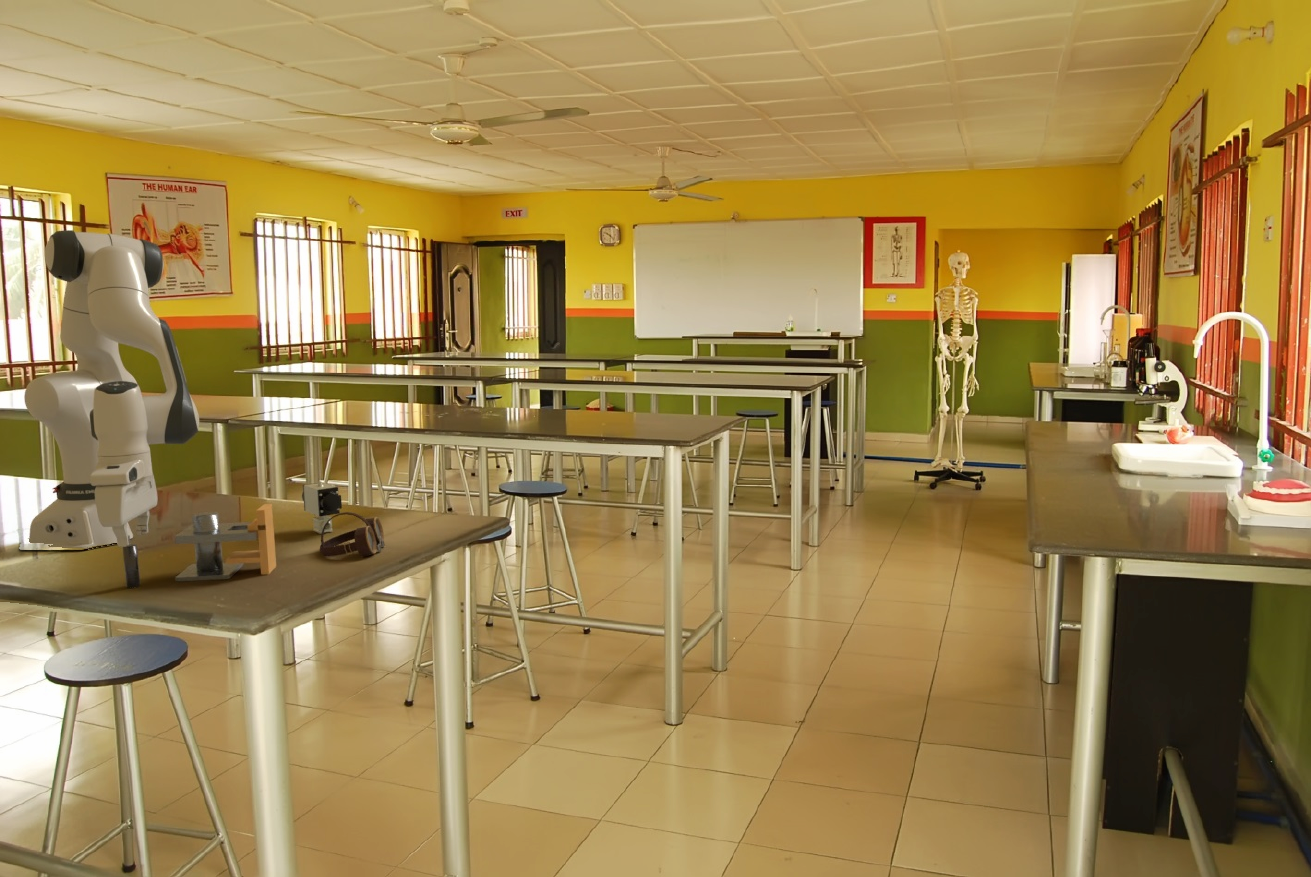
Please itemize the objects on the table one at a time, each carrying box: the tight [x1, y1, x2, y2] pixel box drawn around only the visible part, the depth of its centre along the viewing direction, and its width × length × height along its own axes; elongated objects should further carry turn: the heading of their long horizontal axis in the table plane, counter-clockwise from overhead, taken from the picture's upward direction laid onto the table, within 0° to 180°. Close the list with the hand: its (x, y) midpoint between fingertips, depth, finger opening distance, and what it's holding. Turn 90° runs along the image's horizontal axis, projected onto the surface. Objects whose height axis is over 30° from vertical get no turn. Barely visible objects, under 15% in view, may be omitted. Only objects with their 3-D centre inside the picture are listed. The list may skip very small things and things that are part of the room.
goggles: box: [319, 511, 386, 558], centre depth 216 cm, size 15×13×10 cm
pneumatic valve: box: [301, 480, 343, 535], centre depth 234 cm, size 6×12×12 cm, turn 42°
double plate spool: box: [173, 511, 259, 582], centre depth 200 cm, size 16×10×12 cm, turn 97°
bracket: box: [225, 503, 277, 576], centre depth 200 cm, size 8×6×13 cm
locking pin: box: [122, 543, 141, 589], centre depth 191 cm, size 2×2×8 cm
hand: (133, 540), depth 190 cm, fingers open, 8 cm apart
